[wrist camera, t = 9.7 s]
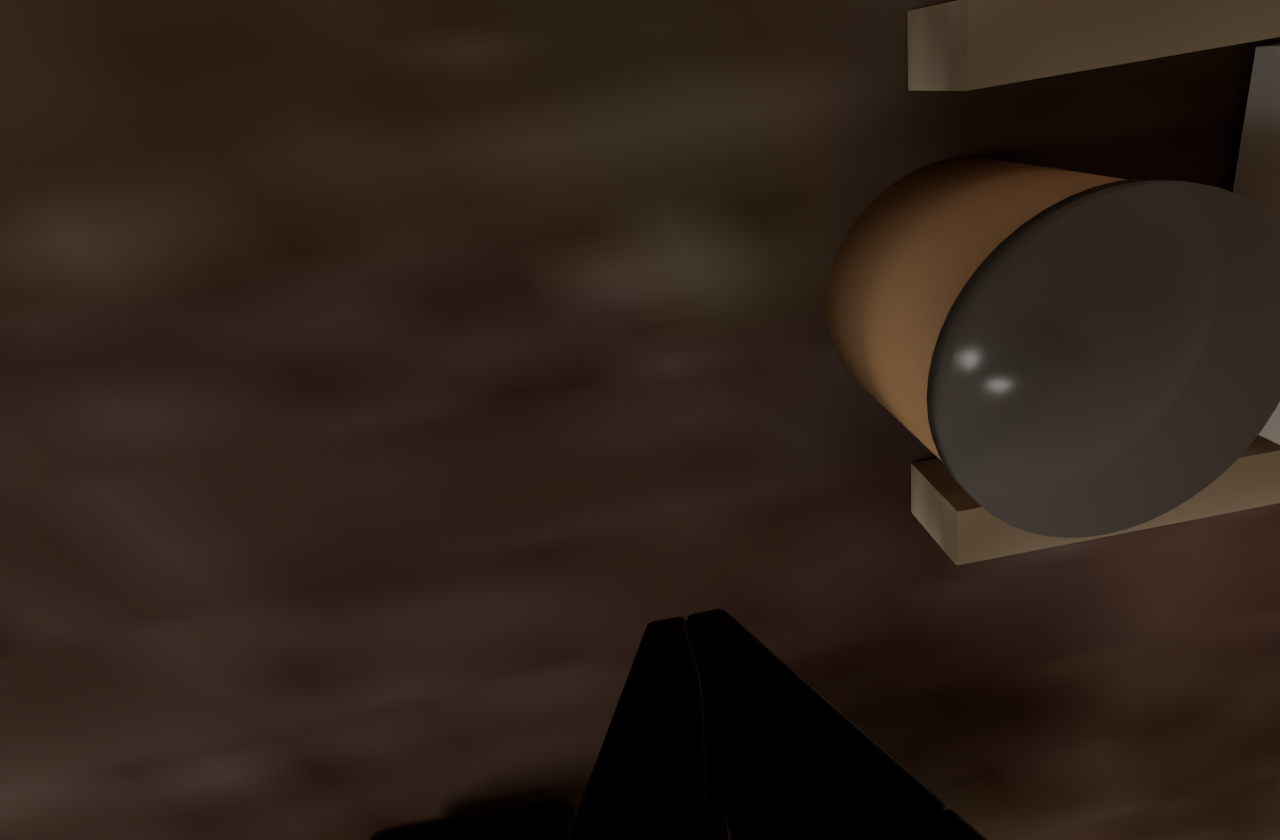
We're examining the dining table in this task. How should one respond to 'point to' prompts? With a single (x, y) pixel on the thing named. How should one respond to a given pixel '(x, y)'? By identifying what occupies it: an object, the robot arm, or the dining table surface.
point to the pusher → (1262, 156)
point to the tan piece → (1042, 47)
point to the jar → (1064, 334)
